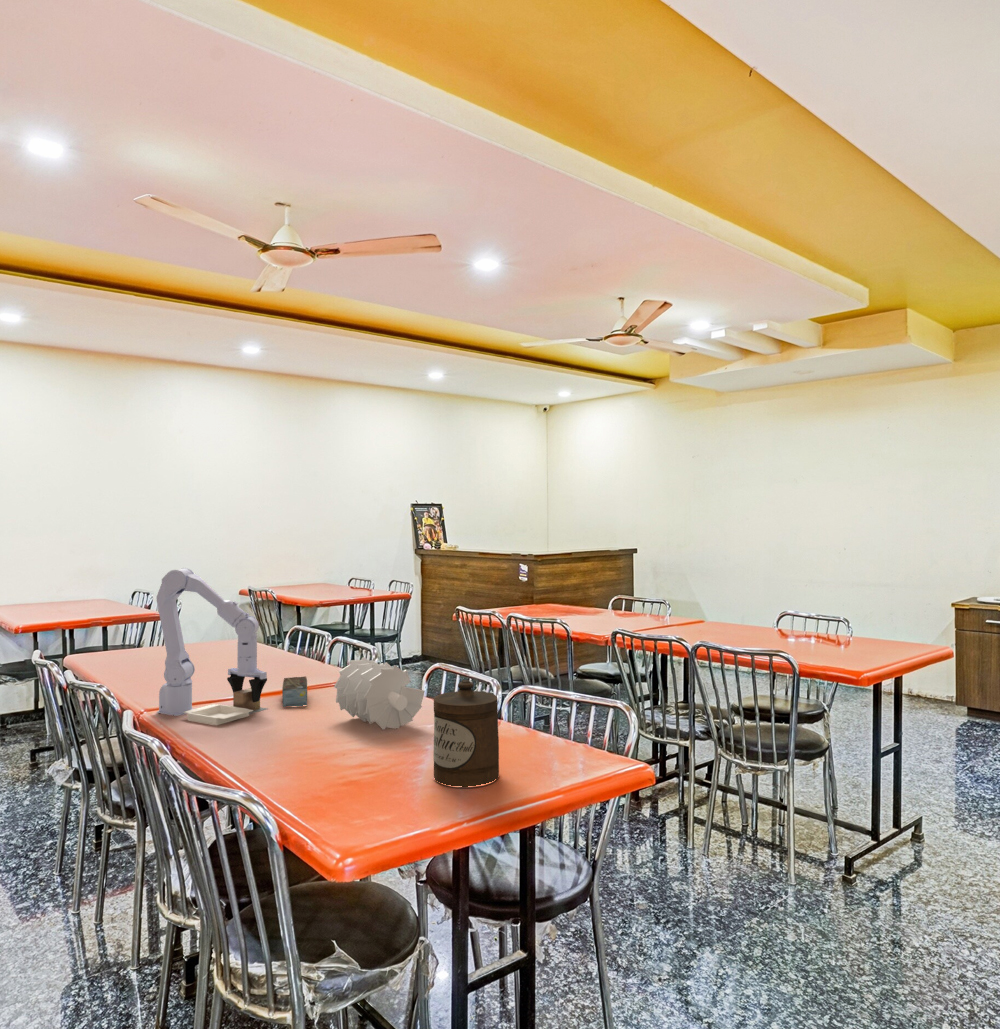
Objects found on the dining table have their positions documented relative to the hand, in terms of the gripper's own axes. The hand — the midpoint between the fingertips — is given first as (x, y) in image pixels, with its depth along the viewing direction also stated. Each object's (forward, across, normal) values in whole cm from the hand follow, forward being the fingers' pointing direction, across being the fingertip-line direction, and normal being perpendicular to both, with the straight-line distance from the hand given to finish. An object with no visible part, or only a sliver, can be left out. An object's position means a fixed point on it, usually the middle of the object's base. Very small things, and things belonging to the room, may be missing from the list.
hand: (246, 700), depth 230 cm
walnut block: (+3, 0, 0) cm, 3 cm away
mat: (+3, 0, 0) cm, 3 cm away
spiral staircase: (+4, -44, -8) cm, 45 cm away
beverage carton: (+4, -3, -18) cm, 19 cm away
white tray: (+3, 0, +11) cm, 12 cm away
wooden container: (+4, -91, +21) cm, 93 cm away
